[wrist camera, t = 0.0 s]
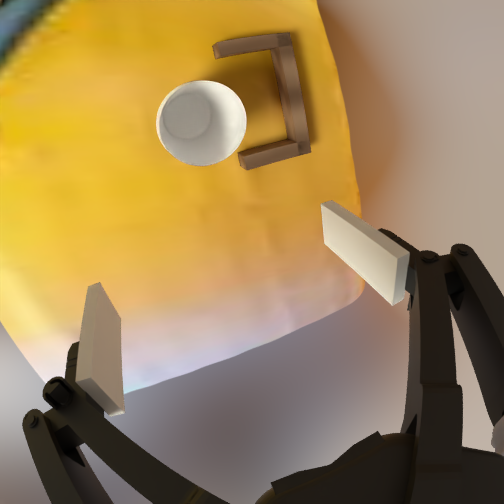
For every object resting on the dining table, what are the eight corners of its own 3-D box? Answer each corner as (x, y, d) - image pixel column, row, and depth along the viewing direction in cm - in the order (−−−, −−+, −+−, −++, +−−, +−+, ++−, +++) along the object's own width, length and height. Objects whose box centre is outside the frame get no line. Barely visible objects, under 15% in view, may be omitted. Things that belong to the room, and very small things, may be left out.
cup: (221, 84, 37) (250, 80, 27) (219, 147, 41) (246, 166, 31) (154, 85, 34) (157, 79, 24) (154, 151, 38) (158, 170, 29)
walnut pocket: (212, 45, 34) (217, 42, 31) (280, 35, 36) (289, 32, 33) (240, 165, 44) (246, 170, 41) (301, 148, 45) (311, 152, 43)
